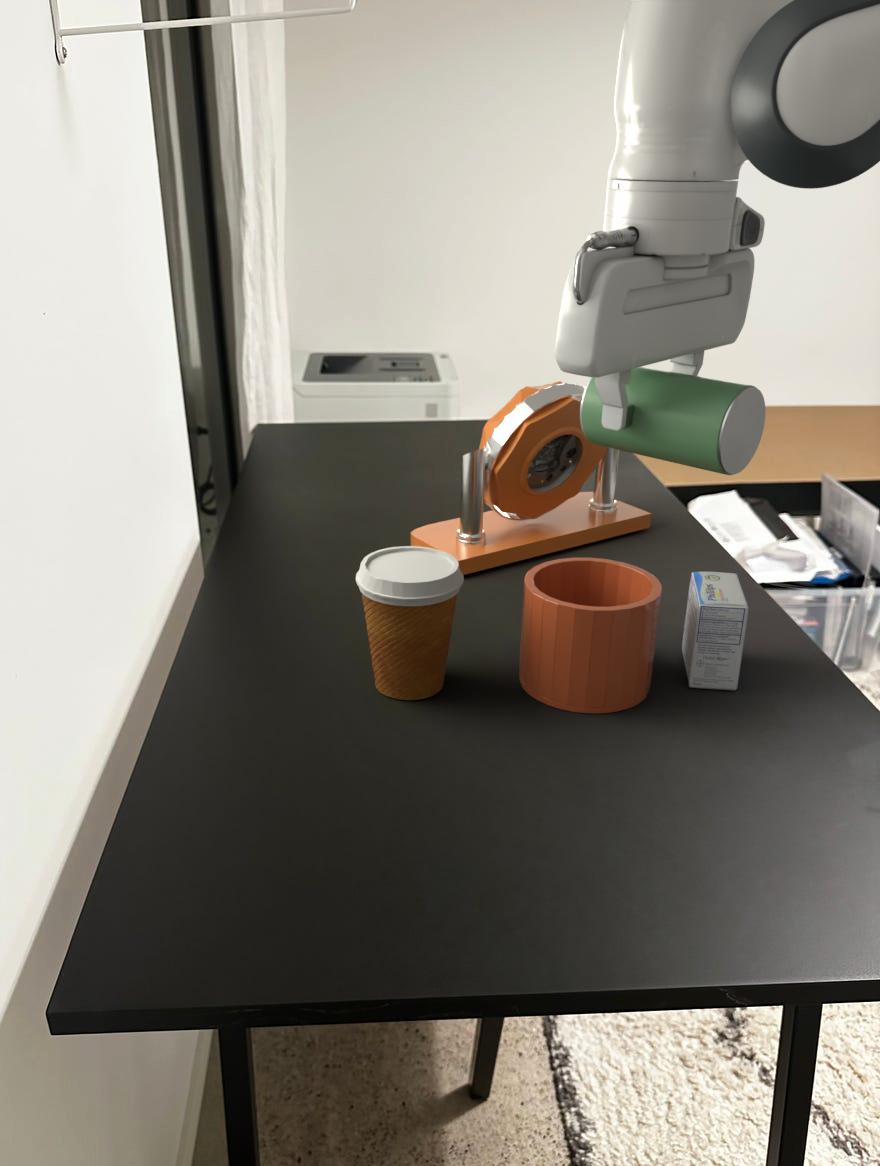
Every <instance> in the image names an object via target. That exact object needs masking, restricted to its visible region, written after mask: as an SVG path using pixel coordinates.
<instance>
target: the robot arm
mask: <svg viewBox="0 0 880 1166" xmlns="http://www.w3.org/2000/svg"><path fill="white" fill-rule="evenodd" d="M613 114H614V119H615V124H616V144H615V150H614V153H613V157H612V160H611V162H610V164H609V168H608V173H607V181H606V182H607V183H606V195H605V205H604V207H605V208H604V217H603V218H604V219H603V230H597V231H593V232H592V233H590V234H589V235H588V236H587V239H586V241H585V242H584V243H583V245H582V246H581V247H580V249H579V250H577V252H576V253H575V255H574V259H573V263H572V264H573V265H571V267H570V270H569V271H568V274H567V277H566V280H565V283H564V287H563V292H562V296H561V297H562V298H561V303H560V307H559V315H558V321H557V327H556V328H557V329H556V336H555V344H554V358H555V360H556V363H557V366H558V368H559V369H560V371H561V372H563V373H567V374H572V375H576V376H581V377H588V378H591V377H594V378H595V384H596V387H597V390H598V393H599V396H600V399H601V401H602V404H603V411H602V426H603V427H604V428H606V429H611V430H615V431H618V430H622V429H624V428H627V427H630V426H631V425H632V421H633V418H632V416H633V414H634V404H630V403H628V399H627V393H626V387H625V384H629V383H630V378H631V369H633V368H637V367H645V366H649V365H653V364H658V363H660V362H665V361H669V362H670V363H672V367H671V369H670V372H676V373H682V374H687V375H693V376H699V373H700V371H701V369H702V366H703V364H704V356H705V351H708V350H712V349H715V348H720V347H725V346H728V345H732V344H734V343H735V342H736V341H737V339H738V338H739V336H740V334H741V332H742V331H743V328H744V326H745V323H746V319H747V313H748V309H749V304H750V298H751V294H752V287H753V280H754V273H755V255H754V252H753V250H752V248H757V247H758V246H760V245H761V243H762V240H763V238H764V232H765V225H766V224H765V223H766V222H765V221H766V220H765V217H764V215H762V214H761V213H759V212H758V211H757V210H755V209H753V208H752V207H751V206H749V205H748V204H747V203H746V202H745V201H744V200H743V199H742V198H741V197H740V196H737V193H738V187H739V178H740V171H741V168H742V167H743V165H744V164H745V163H747V162H749V163H750V164H751V165H752V166H753V167H754V168H755V169H756V170H757V171H759V172H760V173H761V174H762V175H763V176H765V177H767V178H768V179H771V181H772V180H773V181H774V182H776V183H778V184H780V185H781V184H782V185H784V186H787V187H792V188H796V189H808V190H809V189H811V190H813V189H814V190H815V189H825V188H829V187H833V186H837V185H841V184H843V183H846V182H848V181H851V180H853V179H856V178H858V177H859V176H861V175H862V174H864V173H866V172H867V171H869V170H870V169H872V168H873V167H875V166H876V165H877V164H879V163H880V0H629V3H628V6H627V10H626V15H625V19H624V23H623V28H622V35H621V41H620V47H619V55H618V62H617V71H616V79H615V88H614V100H613ZM589 248H590V249H589Z"/></svg>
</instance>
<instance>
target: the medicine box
mask: <svg viewBox="0 0 880 1166" xmlns="http://www.w3.org/2000/svg"><path fill="white" fill-rule="evenodd" d="M741 583H742V582H741V580H740V577H739V575H738V573H734V572H733V573H732V572H723V571H692V572H691V575H690V580H689V587H688V595H687V601H686V604H687V605H686V611H685V618H684V625H683V631H682V642H681V653H682V657H683V662H684V668H685V672H686V677H687V681H688V687H689V688H693V689H701V690H703V689H704V690H718V691H732V692H733V691H736V690H737V689H738V686H739V679H740V671H741V664H742V657H743V649H744V644H745V636H746V632H747V631H746V630H747V624H748V617H749V609H750V606H749V604H748V601H747V597H746V595H745V592H744V589H743V586H742V584H741Z"/></svg>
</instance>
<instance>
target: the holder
mask: <svg viewBox="0 0 880 1166" xmlns="http://www.w3.org/2000/svg"><path fill="white" fill-rule="evenodd" d="M662 591H663V585H662V583H661V582H660V580H659V579H658V578H657V577H656V576H655V575H654V574H653V573H651V572H649V571H647V570H645V569H643V568H641V567H639V566H636V565H633V564H630V563H627V562H624V561H618V560H614V559H607V558H599V557H566V558H557V559H553V560H548V561H544V562H542V563H540V564H537V565H535V566H533V567H532V568H531V569H529V570H528V571H527V572H526V574H525V576H524V579H523V593H522V613H521V615H522V616H521V631H520V632H521V633H520V646H519V663H518V664H519V665H518V672H519V673H518V680H519V684H520V686H521V687H522V689H523V690H524V691H525V693H527V695H529V696H530V697H532V698H533V699H535V700H536V701H537V702H540V703H542V704H544V705H547V706H548V707H549V706H550V707H552V708H555V709H558V710H561V711H566V712H571V713H572V712H573V713H579V714H610V713H617V712H620V711H625V710H628V709H631V708H633V707H635V706H637V705H639V704H640V703H642V702H643V701H645V699H646V698H647V697H648V695H649V693H650V690H651V682H652V676H653V675H652V674H653V665H654V658H655V650H656V641H657V634H658V624H659V616H660V608H661V599H662Z"/></svg>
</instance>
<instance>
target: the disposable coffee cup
mask: <svg viewBox="0 0 880 1166" xmlns="http://www.w3.org/2000/svg"><path fill="white" fill-rule="evenodd" d="M464 581H465V577H464V575H463V574H462V572H461V571H460V568H459V564H458V561H457V559H456V558H455V557H453V556H452V555H450V554H449V553H446V552H444V551H441V550H437V549H433V548H428V547H419V546H411V545H402V546H391V547H386V548H383V549H382V548H381V549H377V550H375V551H372V552H370V553H368V554H367V555H366V556H364V557H363V559H362V560H361V562H360V566H359V570H358V571H357V572H356V573H355V583H356V585H357V586H358V589H359V591H360V593H361V597H362V606H363V611H364V618H365V624H366V631H367V637H368V639H367V640H368V644H369V652H370V658H371V664H372V673H373V679H374V686H375V689H377V691H378V692H379V693H381V695H384V696H386V697H389V698H391V699H394V700H395V699H396V700H401V701H417V700H423V699H427V698H430V697H433V696H434V695H436V694H438V693H439V692H440V691H442V689H443V686H444V681H445V674H446V668H447V661H448V656H449V650H450V644H451V636H452V631H453V626H454V625H453V624H454V619H455V613H456V607H457V599H458V594H459V592H460V591H461V587H462V585H463V584H464Z"/></svg>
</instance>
